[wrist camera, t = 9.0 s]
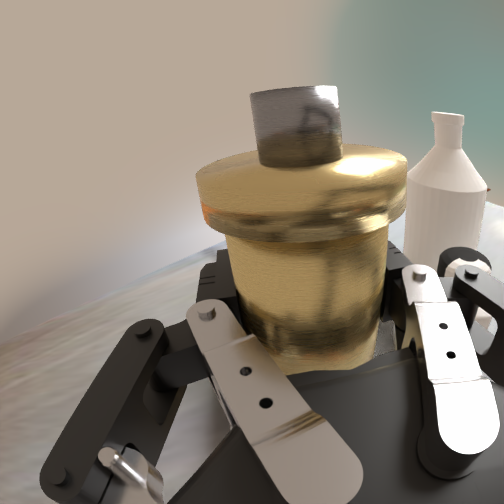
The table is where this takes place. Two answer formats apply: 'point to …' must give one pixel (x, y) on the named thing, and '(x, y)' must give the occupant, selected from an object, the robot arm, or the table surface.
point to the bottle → (443, 197)
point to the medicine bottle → (461, 257)
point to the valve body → (306, 230)
